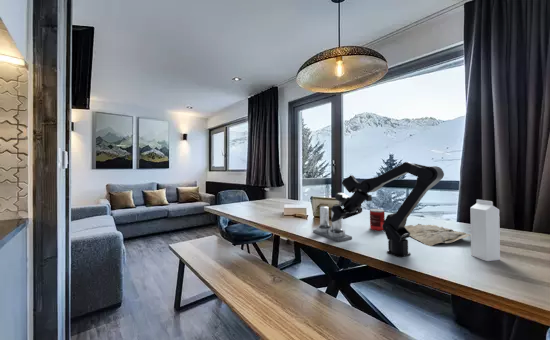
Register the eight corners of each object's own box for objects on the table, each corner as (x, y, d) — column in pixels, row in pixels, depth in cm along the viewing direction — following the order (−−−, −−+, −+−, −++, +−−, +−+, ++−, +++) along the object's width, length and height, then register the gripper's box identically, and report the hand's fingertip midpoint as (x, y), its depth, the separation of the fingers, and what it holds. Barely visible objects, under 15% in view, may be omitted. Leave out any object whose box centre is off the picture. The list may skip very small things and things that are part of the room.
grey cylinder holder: (352, 239, 117) (351, 210, 117) (338, 242, 113) (337, 212, 112) (326, 229, 135) (325, 205, 134) (313, 232, 130) (312, 206, 130)
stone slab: (486, 248, 101) (486, 237, 101) (418, 248, 105) (418, 237, 104) (442, 228, 134) (442, 219, 134) (392, 228, 138) (392, 220, 137)
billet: (343, 234, 120) (342, 209, 120) (338, 236, 116) (337, 210, 116) (335, 233, 123) (334, 208, 123) (330, 235, 120) (329, 209, 120)
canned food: (381, 227, 137) (381, 208, 137) (387, 231, 129) (386, 211, 129) (368, 227, 138) (368, 208, 138) (372, 231, 130) (372, 211, 130)
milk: (483, 254, 93) (482, 198, 93) (500, 260, 87) (499, 200, 87) (470, 255, 92) (469, 199, 92) (486, 261, 86) (485, 201, 86)
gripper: (356, 186, 121) (338, 205, 130) (333, 188, 109) (316, 209, 118) (371, 202, 115) (352, 221, 124) (349, 207, 103) (329, 228, 112)
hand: (337, 219), depth 119 cm, fingers open, 9 cm apart
